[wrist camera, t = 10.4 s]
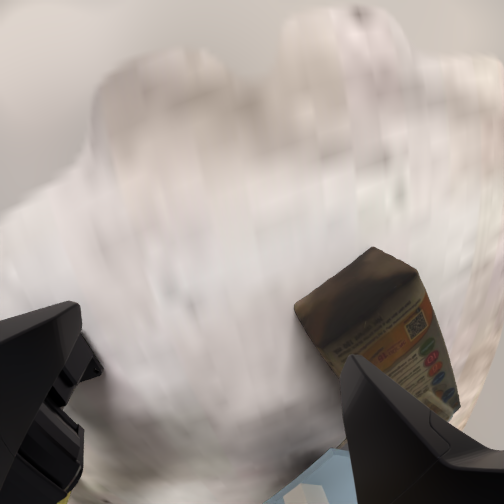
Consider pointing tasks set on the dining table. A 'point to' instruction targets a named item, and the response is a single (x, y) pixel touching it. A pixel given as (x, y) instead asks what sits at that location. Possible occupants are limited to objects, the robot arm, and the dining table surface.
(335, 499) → the blue plate with post
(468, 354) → the dining table surface
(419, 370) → the beverage carton
